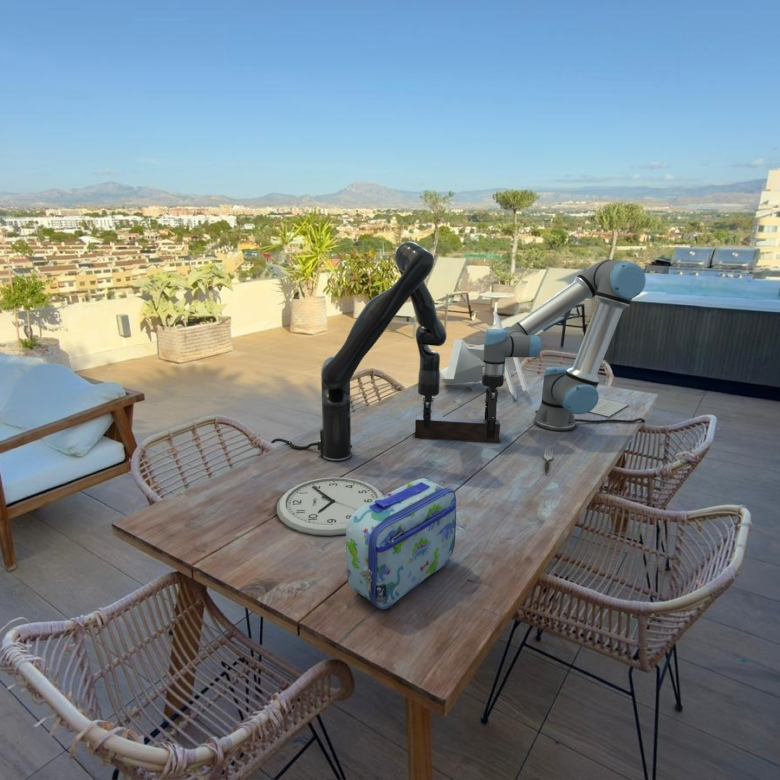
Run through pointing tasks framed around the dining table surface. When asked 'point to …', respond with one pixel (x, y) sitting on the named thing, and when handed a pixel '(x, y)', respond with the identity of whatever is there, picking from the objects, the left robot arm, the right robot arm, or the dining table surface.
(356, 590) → the lunch box
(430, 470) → the dining table surface
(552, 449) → the fork
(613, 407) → the invitation card
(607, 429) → the dining table surface
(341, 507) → the wall clock
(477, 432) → the walnut beam
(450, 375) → the white plastic object
